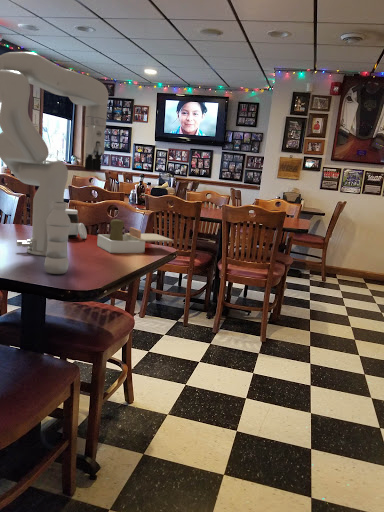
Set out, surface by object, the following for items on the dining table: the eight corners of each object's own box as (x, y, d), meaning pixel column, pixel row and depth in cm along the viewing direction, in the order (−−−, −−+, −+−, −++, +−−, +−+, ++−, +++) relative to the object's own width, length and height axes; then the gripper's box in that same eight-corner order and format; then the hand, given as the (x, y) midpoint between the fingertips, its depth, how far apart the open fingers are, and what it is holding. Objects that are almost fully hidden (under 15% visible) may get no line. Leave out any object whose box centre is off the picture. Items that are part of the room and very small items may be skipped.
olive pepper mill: (114, 245, 160) (116, 218, 158) (126, 248, 157) (128, 220, 155) (104, 246, 155) (106, 218, 153) (116, 249, 152) (118, 221, 150)
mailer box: (110, 253, 148) (111, 241, 147) (97, 245, 159) (97, 234, 158) (144, 252, 155) (145, 241, 155) (129, 245, 167) (130, 235, 166)
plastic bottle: (43, 276, 108) (46, 202, 104) (44, 270, 114) (47, 200, 111) (68, 277, 110) (71, 204, 106) (68, 271, 116) (71, 202, 112)
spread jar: (57, 234, 174) (58, 208, 172) (83, 235, 179) (85, 209, 177) (60, 239, 164) (62, 211, 161) (88, 240, 169) (90, 213, 166)
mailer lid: (140, 241, 153) (141, 231, 153) (125, 234, 165) (125, 225, 164) (172, 241, 161) (173, 232, 160) (155, 235, 173) (156, 226, 172)
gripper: (112, 123, 145) (109, 171, 148) (98, 127, 160) (95, 170, 163) (92, 120, 141) (88, 169, 144) (79, 123, 156) (76, 168, 159)
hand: (92, 169), depth 153 cm, fingers open, 9 cm apart
